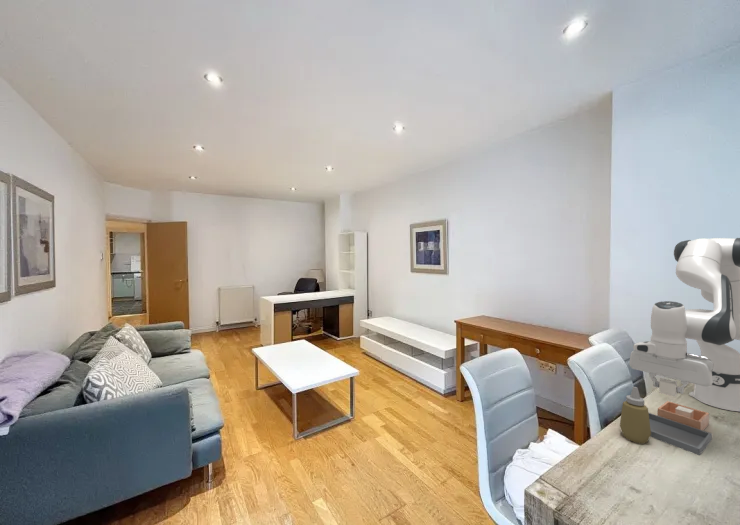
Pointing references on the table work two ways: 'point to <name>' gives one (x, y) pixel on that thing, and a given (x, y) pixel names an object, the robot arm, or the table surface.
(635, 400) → the squeeze bottle
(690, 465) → the table surface
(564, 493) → the table surface
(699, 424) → the bin
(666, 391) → the block
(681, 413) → the white cube
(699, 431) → the tray
